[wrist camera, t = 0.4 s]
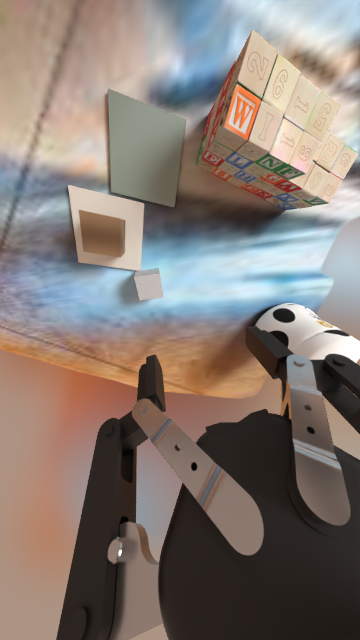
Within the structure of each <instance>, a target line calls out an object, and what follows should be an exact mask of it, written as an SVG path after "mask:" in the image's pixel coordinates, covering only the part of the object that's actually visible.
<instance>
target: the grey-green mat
mask: <svg viewBox="0 0 360 640" xmlns="http://www.w3.org/2000/svg"><path fill="white" fill-rule="evenodd" d="M108 106H109V138H110V170H111V192H112V193H116V194H120V195H124V196H128V197H132V198H137V199H141V200H145V201H149V202H153V203H157V204H161V205H165V206H169V207H173V208H174V207H175V200H176V192H177V185H178V177H179V170H180V162H181V155H182V147H183V140H184V132H185V124H186V119H183V118H181V117H178V116H176V115H173V114H171V113H168V112H166V111H163V110H160V109H158V108H155V107H153V106H150V105H148V104H145V103H143V102H140V101H138V100H135V99H133V98H130V97H128V96H125V95H123V94H120V93H118V92H115V91H113V90H110V89H108Z"/></svg>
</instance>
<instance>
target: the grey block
mask: <svg viewBox="0 0 360 640" xmlns="http://www.w3.org/2000/svg"><path fill="white" fill-rule="evenodd" d="M134 279H135V283H136V288H137V292H138V296H139V300H147V299H154V298H161V297H163V292H162V286H161V279H160V273H159V269H158V268H155V269H148V270H141V271H136V272H135V275H134Z"/></svg>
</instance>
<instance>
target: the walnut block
mask: <svg viewBox="0 0 360 640" xmlns="http://www.w3.org/2000/svg"><path fill="white" fill-rule="evenodd" d="M79 218H80V227H81V235H82V244H83V252H88V253H95V254H101V255H108V256H114V257H121V256H122V255H123V254H124V253H125V220H123V219H120V218H116V217H111V216H106V215H101V214H97V213H92V212H87V211H83V210H79Z"/></svg>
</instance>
